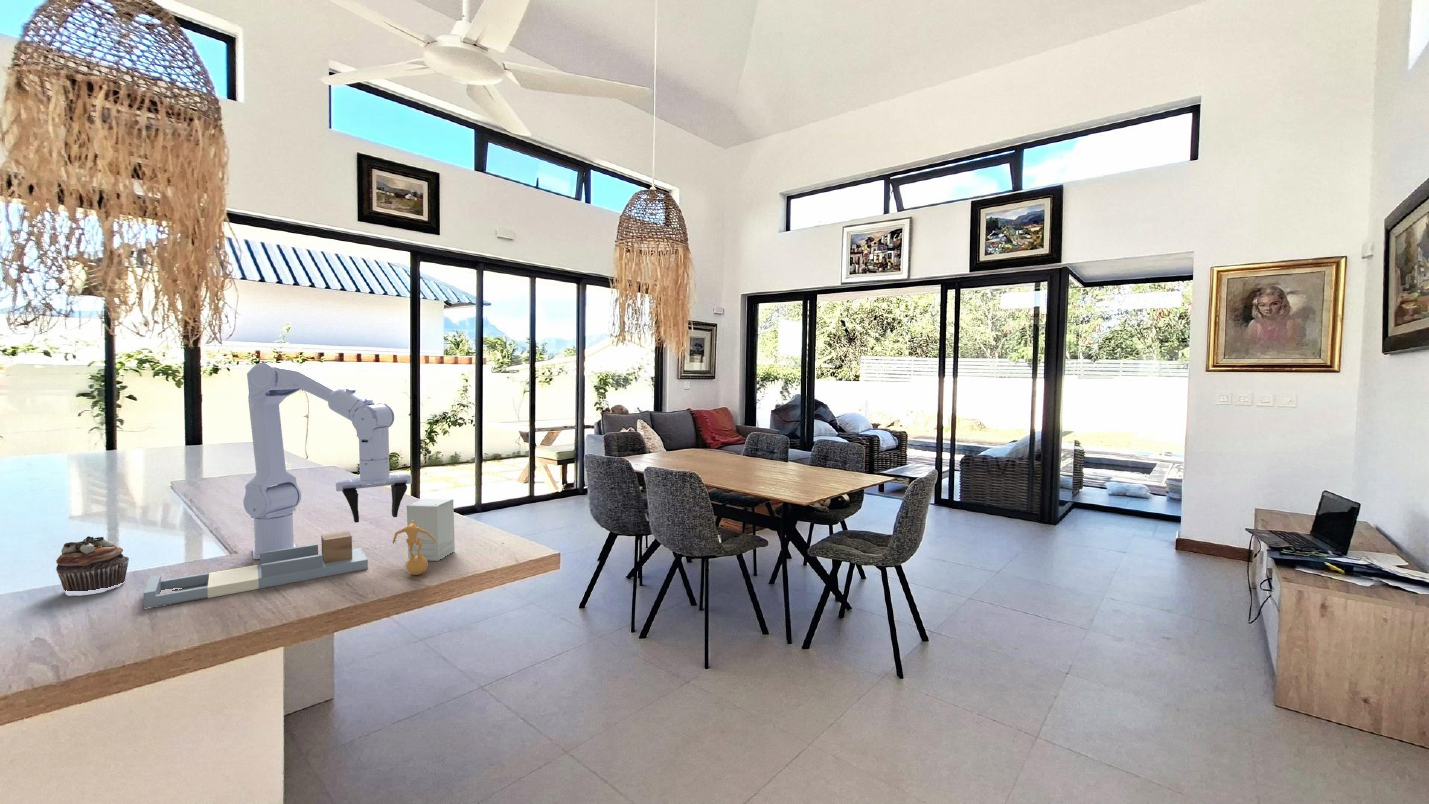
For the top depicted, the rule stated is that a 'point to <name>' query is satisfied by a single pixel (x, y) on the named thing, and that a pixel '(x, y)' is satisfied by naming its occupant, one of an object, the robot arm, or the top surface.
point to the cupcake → (91, 565)
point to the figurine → (418, 562)
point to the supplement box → (433, 527)
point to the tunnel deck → (252, 575)
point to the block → (336, 546)
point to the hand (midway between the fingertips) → (375, 518)
